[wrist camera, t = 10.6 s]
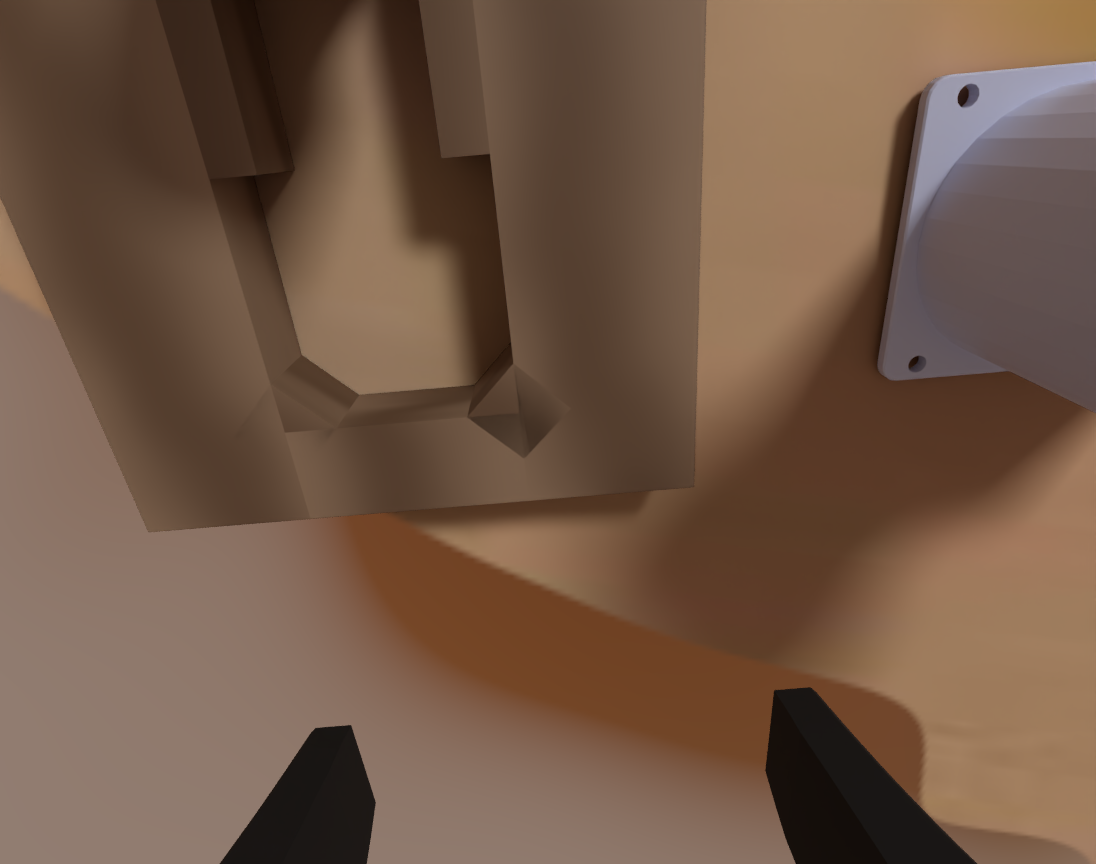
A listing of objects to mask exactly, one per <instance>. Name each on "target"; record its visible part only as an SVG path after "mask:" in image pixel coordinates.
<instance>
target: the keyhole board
mask: <svg viewBox="0 0 1096 864" xmlns="http://www.w3.org/2000/svg"><path fill="white" fill-rule="evenodd" d="M419 6H420V13H421V20H422V27H423V34H424V41H425V48H426V55H427V62H428V69H429V76H430V83H431V90H432V97H433V104H434V110H435V117H436V124H437V131H438V138H439V145H440V152H441V158H450V157H461V156H472V155H483V154H490V159H491V168H492V177H493V186H494V194H495V203H496V212H497V221H498V230H499V239H500V248H501V257H502V266H503V275H504V283H505V292H506V301H507V310H508V319H509V328H510V337H511V343H510V344H509V345H508V346H507V348H506V349H505V350H504V351H503V352H502V354H501V355H500V356H499V357H498V358H497V359H496V361H495V362H494V363H493V364H492V365H491V367H490V368H489V369H488V370H487V371H486V372H485V374H484V375H483V376H482V377H481V378H480V380H479V381H478V382H477V383H476V384H475V385H472V386H460V387H448V388H436V389H425V390H413V391H401V392H390V393H378V394H366V395H358V394H357V393H355V392H354V391H352V390H351V389H350V388H348V387H347V386H345V385H344V384H342V383H341V382H339V381H338V380H337V379H335V378H334V377H332V376H331V375H329V374H328V373H327V372H325V371H324V370H322V369H321V368H319V367H318V366H316V365H315V364H314V363H312V362H311V361H309V360H308V359H306V358H305V357H304V356H302V355H301V351H300V347H299V343H298V340H297V336H296V332H295V329H294V325H293V321H292V317H291V314H290V310H289V306H288V303H287V299H286V295H285V291H284V288H283V284H282V280H281V277H280V273H279V269H278V265H277V262H276V258H275V254H274V251H273V247H272V243H271V240H270V236H269V232H268V228H267V225H266V221H265V217H264V214H263V210H262V206H261V202H260V199H259V195H258V191H257V188H256V184H255V180H254V176H253V175H261V174H269V173H277V172H285V171H293V170H294V167H293V162H292V158H291V154H290V150H289V146H288V142H287V138H286V133H285V129H284V125H283V121H282V117H281V113H280V109H279V104H278V100H277V96H276V92H275V88H274V84H273V80H272V76H271V71H270V67H269V63H268V59H267V55H266V51H265V47H264V42H263V38H262V34H261V30H260V26H259V22H258V18H257V13H256V9H255V5H254V1H253V0H0V197H1V200H2V202H3V204H4V207H5V209H6V211H7V213H8V216H9V218H10V220H11V222H12V225H13V227H14V229H15V231H16V234H17V236H18V238H19V240H20V243H21V245H22V247H23V250H24V252H25V254H26V256H27V259H28V261H29V263H30V265H31V268H32V270H33V272H34V274H35V277H36V279H37V281H38V283H39V286H40V288H41V290H42V293H43V295H44V297H45V299H46V302H47V304H48V306H49V308H50V311H51V313H52V315H53V317H54V320H55V322H56V324H57V326H58V329H59V331H60V333H61V335H62V338H63V340H64V342H65V345H66V347H67V349H68V351H69V354H70V356H71V358H72V360H73V363H74V365H75V367H76V369H77V372H78V374H79V376H80V378H81V381H82V383H83V385H84V388H85V390H86V392H87V394H88V396H89V399H90V401H91V403H92V406H93V408H94V410H95V412H96V414H97V417H98V419H99V421H100V424H101V426H102V428H103V431H104V433H105V435H106V437H107V439H108V442H109V444H110V446H111V449H112V451H113V453H114V455H115V457H116V460H117V462H118V464H119V467H120V469H121V471H122V474H123V476H124V478H125V480H126V483H127V485H128V487H129V489H130V492H131V494H132V496H133V498H134V500H135V503H136V505H137V507H138V510H139V512H140V514H141V517H142V519H143V521H144V523H145V526H146V528H147V530H148V532H157V531H170V530H182V529H194V528H204V527H205V528H206V527H217V526H230V525H241V524H254V523H266V522H278V521H291V520H303V519H315V518H326V517H339V516H351V515H362V514H374V513H387V512H399V511H411V510H424V509H436V508H448V507H460V506H472V505H484V504H496V503H508V502H520V501H532V500H545V499H557V498H569V497H581V496H593V495H605V494H617V493H629V492H641V491H653V490H666V489H678V488H690V487H694V472H695V433H696V393H697V354H698V315H699V275H700V236H701V196H702V157H703V118H704V78H705V39H706V0H419Z"/></svg>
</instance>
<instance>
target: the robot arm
mask: <svg viewBox="0 0 1096 864" xmlns="http://www.w3.org/2000/svg"><path fill="white" fill-rule="evenodd" d="M964 86H966V87H967V88H968V90H969V97H968V99H967V102H966V103H965V104H964V105H963V106H962V107H960V105H959V104H958V98H957V97H958V94H959V92H960V90H961V89H962V88H963V87H964ZM916 356H919V360H918V362H917V364H915V365H914V366H913V367H910V368H908V364H909V362H910V360H911V359H912V358H914V357H916ZM877 364H878V370H879V372H880V374H882V375H883V376H885V377H886V378H888V379H890V380H895V381H899V380H911V379H922V378H934V377H946V376H958V375H970V374H981V373H993V372H1005V371H1010V372H1012V373H1014V374H1016V375H1018V376H1020V377H1022V378H1024V379H1026V380H1028V381H1030V382H1032V383H1035V384H1037V385H1039V386H1041V387H1043V388H1045V389H1047V390H1049V391H1051V392H1053V393H1055V394H1057V395H1059V396H1061V397H1064V398H1066V399H1068V400H1070V401H1072V402H1074V403H1076V404H1078V405H1080V406H1082V407H1084V408H1086V409H1088V410H1090V411H1092V412H1095V413H1096V61H1094V62H1083V63H1072V64H1061V65H1050V66H1039V67H1028V68H1018V69H1007V70H996V71H985V72H974V73H963V74H952V75H945V76H941V77H938V78H935V79H934V80H932V81H931V82H930V83H929V84H928V85H927V86H926V87H925V89H924V90H923V92H922V95H921V98H920V101H919V107H918V113H917V120H916V126H915V132H914V138H913V145H912V151H911V157H910V163H909V170H908V176H907V182H906V188H905V194H904V201H903V207H902V213H901V219H900V226H899V232H898V238H897V244H896V251H895V257H894V263H893V269H892V276H891V282H890V288H889V294H888V300H887V307H886V313H885V319H884V325H883V332H882V338H881V344H880V350H879V357H878V363H877ZM766 774H767V778H768V781H769V784H770V788H771V791H772V795H773V798H774V802H775V805H776V809H777V812H778V815H779V818H780V822H781V825H782V828H783V831H784V834H785V838H786V840H787V843H788V845H789V848H790V850H791V853H792V855H793V858H794V860H795V863H796V864H977V863H976V862H975V861H974V860H973V859H972V858H971V857H970V856H969V855H968V854H967V853H966V852H965V851H964V850H962V849H961V848H960V847H959V846H958V845H957V844H956V843H955V842H954V841H953V840H952V839H951V838H950V837H949V836H948V835H947V834H946V833H945V832H944V831H943V830H942V829H941V828H940V827H939V826H938V825H937V824H936V823H935V822H934V821H933V820H932V819H931V817H930V816H929V815H928V814H927V813H926V812H925V811H924V810H923V809H922V808H921V807H920V806H919V805H918V804H917V803H916V802H915V801H914V800H913V799H912V798H911V797H910V796H909V795H908V794H907V793H906V792H905V791H904V789H903V788H902V787H901V786H900V785H899V784H898V783H897V782H896V781H895V780H894V779H893V778H892V777H891V776H890V775H889V774H888V773H887V771H886V770H885V769H884V768H883V767H882V766H881V765H880V764H879V763H878V762H877V761H876V759H875V758H874V757H873V756H872V755H871V754H870V753H869V752H868V751H867V750H866V748H865V747H864V746H863V745H862V744H861V743H860V742H859V741H858V740H857V738H856V737H855V736H854V735H853V734H852V733H851V732H850V731H849V729H848V728H847V727H846V726H845V725H844V724H843V723H842V722H841V720H840V719H839V718H838V717H837V716H836V715H835V713H834V712H833V711H832V710H831V709H830V708H829V707H828V706H827V704H826V703H825V702H824V701H823V700H822V698H821V697H820V696H819V695H818V694H817V693H816V692H815V691H814V690H813V689H812V688H797V689H785V690H775V691H774V697H773V706H772V716H771V725H770V734H769V743H768V752H767V762H766ZM375 803H376V802H375V799H374V796H373V792H372V790H371V786H370V783H369V780H368V777H367V774H366V771H365V768H364V764H363V761H362V758H361V755H360V752H359V749H358V746H357V743H356V739H355V737H354V733H353V730H352V727H351V725H348V726H335V727H323V728H315V729H314V730H313V731H312V732H311V734H310V735H309V737H308V738H307V740H306V741H305V743H304V744H303V746H302V747H301V749H300V750H299V751H298V753H297V754H296V756H295V757H294V759H293V760H292V762H291V763H290V765H289V766H288V768H287V769H286V771H285V772H284V774H283V775H282V777H281V778H280V780H279V781H278V782H277V784H276V785H275V787H274V788H273V790H272V792H271V793H270V794H269V796H268V797H267V799H266V800H265V802H264V803H263V804H262V806H261V807H260V809H259V810H258V811H257V813H256V814H255V816H254V817H253V819H252V820H251V821H250V823H249V824H248V826H247V827H246V828H245V830H244V831H243V832H242V834H241V835H240V837H239V838H238V839H237V841H236V842H235V844H234V845H233V846H232V848H231V849H230V850H229V852H228V853H227V855H226V856H225V857H224V859H223V860H222V861H221V863H220V864H367V858H368V852H369V845H370V838H371V831H372V825H373V817H374V810H375Z"/></svg>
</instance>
